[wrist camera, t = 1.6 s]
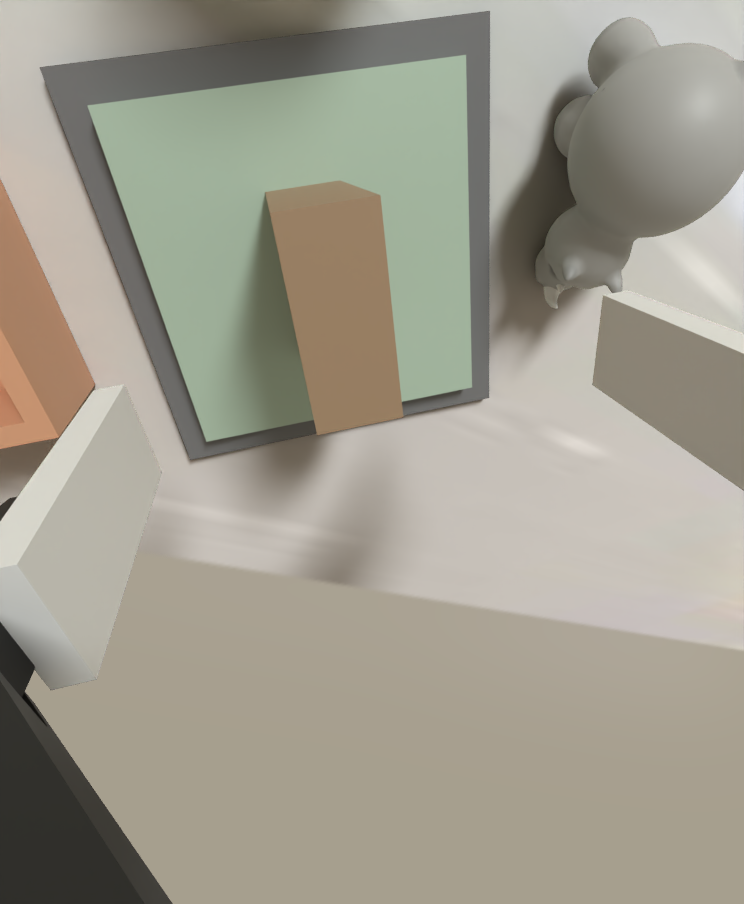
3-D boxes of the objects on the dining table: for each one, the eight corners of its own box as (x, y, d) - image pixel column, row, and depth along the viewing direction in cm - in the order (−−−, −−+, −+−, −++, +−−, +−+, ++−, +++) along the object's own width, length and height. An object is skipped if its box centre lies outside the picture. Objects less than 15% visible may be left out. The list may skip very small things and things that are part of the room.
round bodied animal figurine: (472, 238, 30) (503, 329, 25) (606, -18, 21) (698, 39, 16) (571, 270, 32) (619, 359, 27) (730, 48, 23) (847, 118, 18)
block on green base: (93, 107, 21) (-14, 79, 13) (458, 58, 23) (578, 4, 14) (207, 433, 30) (189, 546, 21) (466, 381, 31) (543, 466, 23)
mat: (45, 69, 21) (39, 67, 20) (484, 14, 22) (489, 10, 22) (191, 454, 31) (190, 459, 30) (485, 393, 33) (488, 397, 32)
